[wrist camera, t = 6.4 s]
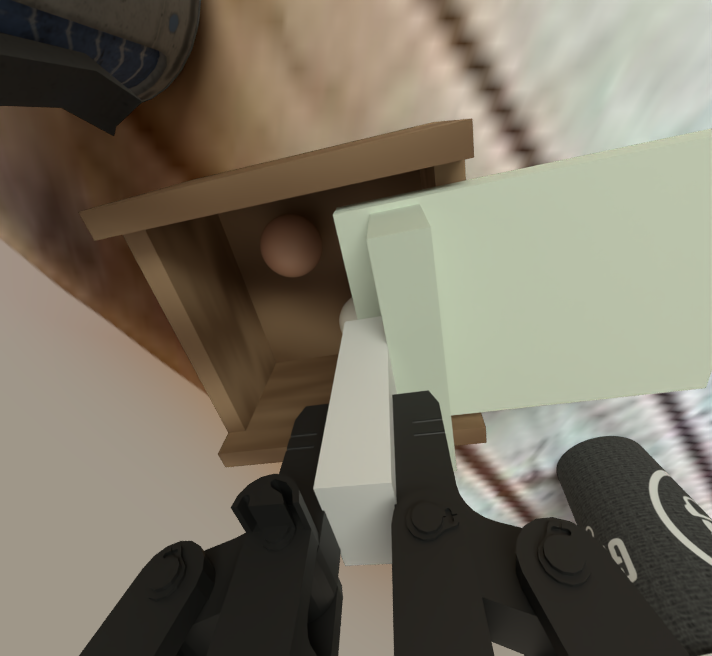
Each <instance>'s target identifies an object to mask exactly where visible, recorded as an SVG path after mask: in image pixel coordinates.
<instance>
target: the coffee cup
mask: <svg viewBox="0 0 712 656" xmlns="http://www.w3.org/2000/svg"><path fill="white" fill-rule="evenodd" d="M557 475H558V478H559V480H560V483H561V486H562V488H563V491H564V493H565V496H566V498H567V501H568V503H569V506H570V508H571V511H572V513H573V516H574V518H575V521H576V523H577V526H579V527H581V528H583V529H584V530H586V531H588V532H589V533H590V534H591V535H592V536H593V537H594V538H595V539H596V540H597V541H598V542H599V543H600V544H601V545H602V546H603V547H604V548H605V549H606V550H607V552H608V553H609V554H610V555H611V557H612V558H613V559H614V560H615V562H616V563H617V564H618V566H619V567H620V568H621V569H622V571H623V572H624V573H625V574H626V576H627V577H628V578H629V579H630V581H631V582H632V583H633V584H634V586H635V587H636V588H637V589H638V591H639V592H640V593H641V595H642V596H643V597H644V598H645V600H646V601H647V602H648V603H649V605H650V606H651V607H652V608H653V610H654V611H655V612H656V613H657V615H658V616H659V617H660V618H661V620H662V621H663V622H664V624H665V625H666V626H667V627H668V629H669V630H670V631H671V632H672V634H673V635H674V636H675V637H676V639H677V640H678V641H679V642H680V644H681V645H682V646H683V647H684V649H685V650H686V651H687V653H688V654H689V655H690V656H712V519H711V518H710V517H709V516H708V515H707V514H706V513H705V512H704V511H703V510H702V509H701V508H700V507H699V506H698V504H697V503H696V502H695V501H694V500H693V499H692V498H691V497H690V496H689V495H688V494H687V493H686V492H685V491H684V490H683V489H682V488H681V487H680V486H679V485H678V484H677V483H676V482H675V481H674V480H673V479H672V478H671V477H670V475H669V474H668V473H667V472H666V471H665V470H664V469H663V468H662V467H661V466H660V465H659V464H658V463H657V462H656V461H655V460H654V459H653V458H652V457H651V456H650V455H649V454H648V453H647V452H646V451H645V450H644V449H643V448H642V447H641V446H640V445H639V444H638V443H637V442H635V441H633V440H631V439H628V438H624V437H618V436H605V437H598V438H594V439H590V440H587V441H584V442H582V443H580V444H578V445H576V446H574V447H572V448H571V449H570V450H568V451H567V452H566V453H565V454H564V455H563V456H562V458H561V459H560V461H559V463H558V465H557Z"/></svg>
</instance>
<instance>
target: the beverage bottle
mask: <svg viewBox="0 0 712 656" xmlns="http://www.w3.org/2000/svg"><path fill="white" fill-rule="evenodd" d="M200 5H201V0H0V106H26V107H53V108H63V109H64V110H66V111H68V112H70V113H72V114H74V115H76V116H77V117H79V118H81V119H83V120H85V121H87V122H89V123H90V124H92V125H94V126H96V127H98V128H100V129H101V130H103V131H105V132H107V133H109V134H111V135H113V136H114V134H115V130H116V126H117V125H118V124H119V123H120V122H121V121H123V120H124V119H125V118H126V117H127V116H128V115H129V114H130V113H131V112H132V111H133V110H134V109H135V108H136V107H137V106H139V105H140V104H141V103H142V102H145V101H148V100H150V99H152V98H154V97H155V96H157V95H158V94H159V93H161V92H162V91H164V90H165V89H166V88H168V87H169V85H170V84H171V83H172V82H173V81H174V79H175V78H176V77H177V76H178V75H179V73H180V72H181V71H182V69H183V67H184V65H185V63H186V61H187V59H188V57H189V55H190V53H191V51H192V48H193V44H194V40H195V37H196V33H197V29H198V25H199V16H200Z"/></svg>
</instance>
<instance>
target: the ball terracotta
mask: <svg viewBox="0 0 712 656" xmlns="http://www.w3.org/2000/svg"><path fill="white" fill-rule="evenodd" d="M260 250H261V254H262V257H263V259H264V261H265V263H266V264H267V265H268V266H269V267H270V268H271V269H272V270H273V271H274V272H276V273H278V274H279V275H282V276H285V277H300V276H303V275H306V274H307V273H309V272H311V271H312V270H313V269H314V268H315V267H316V266H317V264H318V263H319V261H320V259H321V256H322V251H323V243H322V238H321V235H320V233H319V231H318V229H317V228H316V226H315V225H314V224H313V223H312V222H311V221H309V220H308V219H306V218H305V217H302V216H300V215H296V214H284V215H280V216H278V217H276V218H274V219H273V220H271V221H270V222H269V223H268V224H267V225H266V227H265V228H264V230H263V232H262V235H261V238H260Z"/></svg>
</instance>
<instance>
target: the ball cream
mask: <svg viewBox="0 0 712 656" xmlns="http://www.w3.org/2000/svg"><path fill="white" fill-rule="evenodd" d="M353 320H358V319H357V315H356V311H355V306H354V302H353V298H350V299H349V300H348V301H347V302H346V303H345V304H344V306H343V307H342V310H341V312H340V317H339V325H340V329H341V332H342V334H343V329H344V324H345V322H346V321H353Z"/></svg>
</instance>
